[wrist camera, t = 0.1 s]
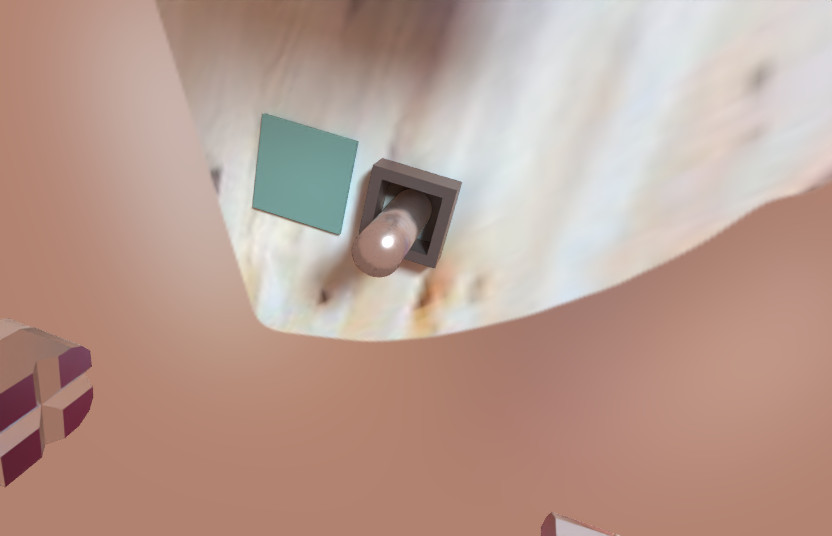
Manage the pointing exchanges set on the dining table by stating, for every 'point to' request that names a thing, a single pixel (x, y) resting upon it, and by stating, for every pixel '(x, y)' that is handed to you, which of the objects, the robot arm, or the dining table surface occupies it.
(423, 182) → the brown square tray
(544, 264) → the dining table surface
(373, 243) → the steel rod
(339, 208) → the rubber mat
